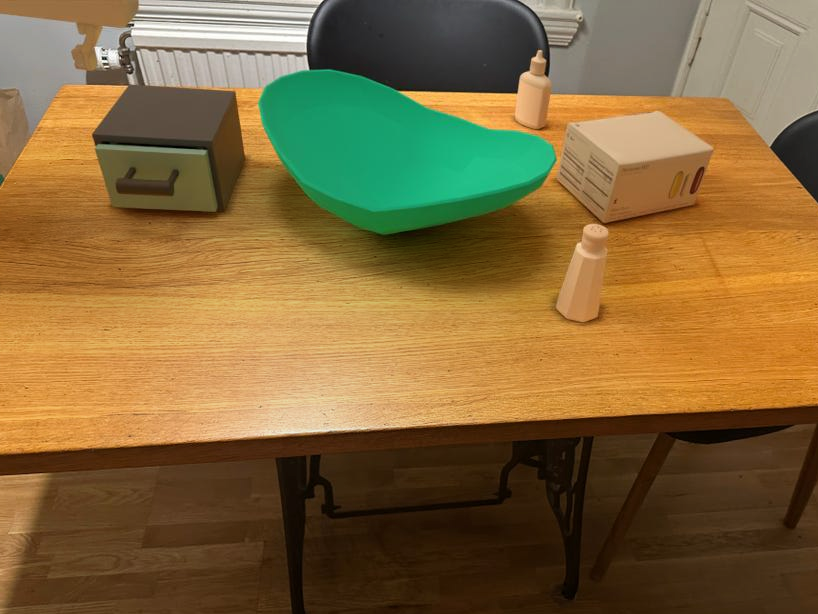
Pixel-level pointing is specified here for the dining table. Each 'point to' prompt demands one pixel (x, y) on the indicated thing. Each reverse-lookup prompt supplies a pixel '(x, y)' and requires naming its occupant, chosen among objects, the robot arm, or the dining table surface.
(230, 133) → the mini chest of drawers
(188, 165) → the drawer
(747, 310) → the dining table surface
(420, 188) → the table top decor
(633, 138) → the supplement box
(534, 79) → the eye dropper bottle
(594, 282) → the salt shaker
